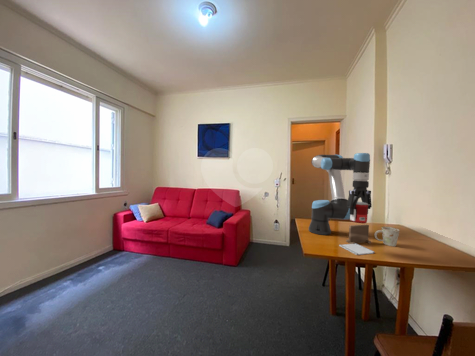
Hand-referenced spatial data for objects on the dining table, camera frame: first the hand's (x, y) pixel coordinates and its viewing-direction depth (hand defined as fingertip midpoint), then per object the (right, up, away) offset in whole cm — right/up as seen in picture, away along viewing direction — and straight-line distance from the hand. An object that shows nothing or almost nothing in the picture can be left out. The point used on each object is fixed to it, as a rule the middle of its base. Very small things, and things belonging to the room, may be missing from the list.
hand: (358, 220), depth 103 cm
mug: (+23, -18, +9) cm, 31 cm away
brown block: (+7, -17, +11) cm, 22 cm away
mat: (-1, -17, 0) cm, 17 cm away
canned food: (0, -1, 0) cm, 1 cm away
